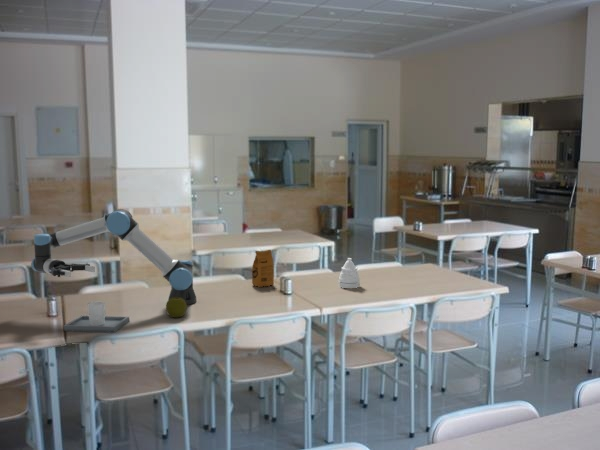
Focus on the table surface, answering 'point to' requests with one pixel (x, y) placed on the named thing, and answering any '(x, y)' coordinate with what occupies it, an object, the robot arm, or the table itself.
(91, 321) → the white cup
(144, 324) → the table surface
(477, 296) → the table surface
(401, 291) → the table surface
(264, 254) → the coffee package
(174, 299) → the apple
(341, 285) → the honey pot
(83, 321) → the tray
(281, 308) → the table surface
